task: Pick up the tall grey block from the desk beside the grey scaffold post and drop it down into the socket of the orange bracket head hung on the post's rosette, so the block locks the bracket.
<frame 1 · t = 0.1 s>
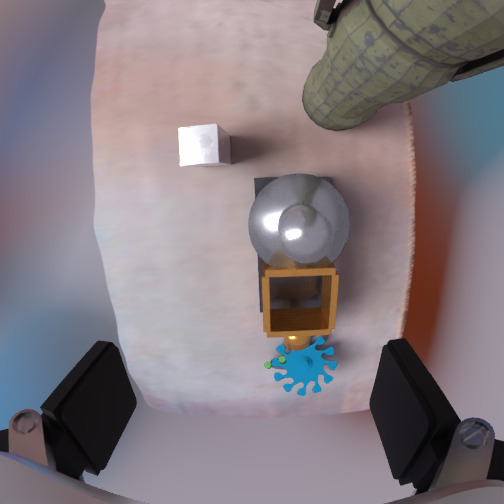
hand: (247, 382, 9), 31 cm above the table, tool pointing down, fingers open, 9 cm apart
blue splat shape: (298, 350, 44), on the table
tall grey block: (215, 151, 36), on the table
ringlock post: (293, 214, 38), on the table
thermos: (332, 101, 34), on the table
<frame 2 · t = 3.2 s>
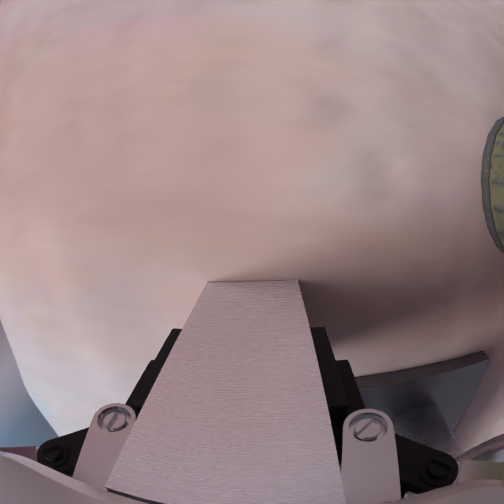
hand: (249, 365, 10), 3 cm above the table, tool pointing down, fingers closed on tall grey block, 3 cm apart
tall grey block: (254, 321, 13), on the table, touching gripper
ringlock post: (405, 419, 15), on the table
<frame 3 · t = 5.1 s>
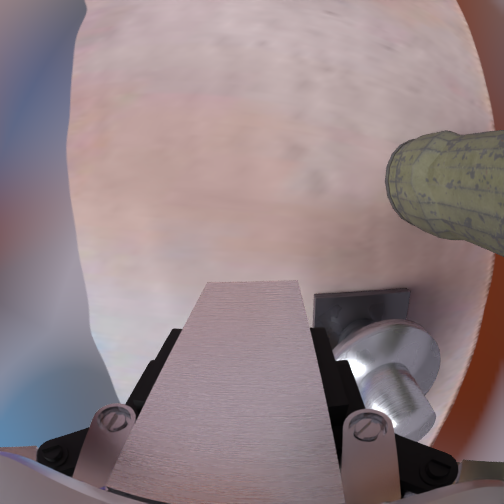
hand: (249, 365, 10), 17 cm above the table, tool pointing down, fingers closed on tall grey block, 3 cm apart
tall grey block: (254, 321, 13), point 13 cm above the table, touching gripper
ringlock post: (358, 334, 28), on the table
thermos: (421, 182, 24), on the table
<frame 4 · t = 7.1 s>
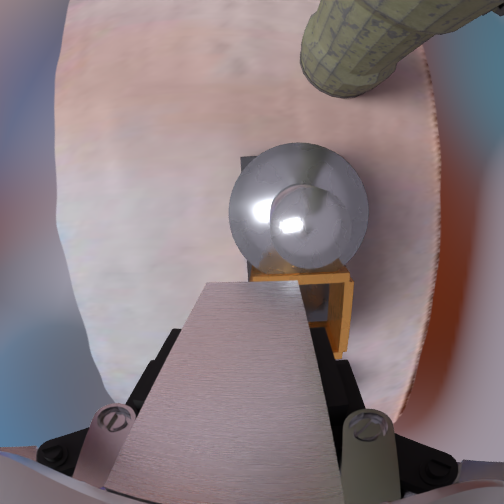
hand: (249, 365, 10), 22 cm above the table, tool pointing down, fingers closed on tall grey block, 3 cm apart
tall grey block: (253, 321, 13), point 18 cm above the table, touching gripper
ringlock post: (291, 202, 30), on the table
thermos: (337, 64, 25), on the table
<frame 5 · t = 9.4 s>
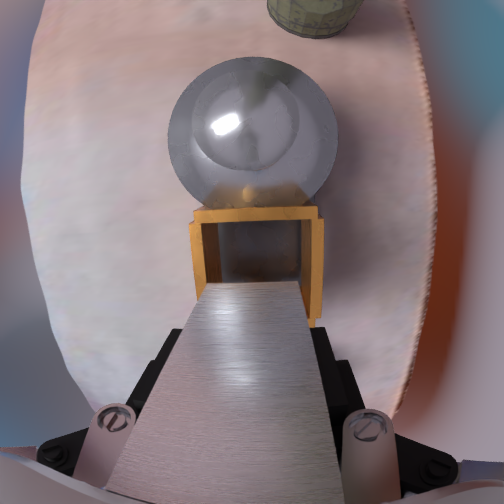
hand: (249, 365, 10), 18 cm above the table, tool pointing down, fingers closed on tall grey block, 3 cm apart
tall grey block: (254, 322, 13), point 15 cm above the table, touching gripper
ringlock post: (256, 145, 25), on the table
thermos: (308, 8, 20), on the table
when the fingers open (11 cm above the table, at t = 11.3 s): tall grey block drops 6 cm, resting on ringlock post.
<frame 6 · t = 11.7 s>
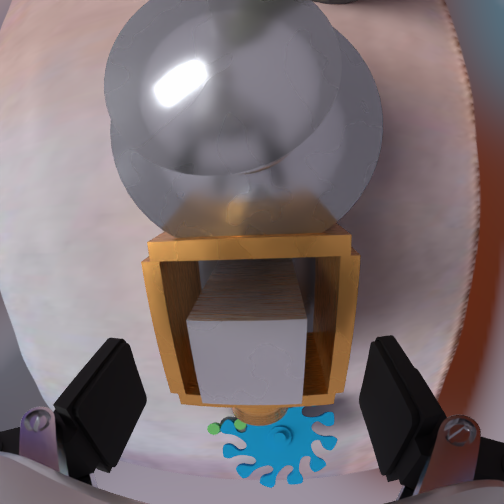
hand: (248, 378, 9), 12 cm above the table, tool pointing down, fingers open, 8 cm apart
blue splat shape: (272, 405, 24), on the table
tall grey block: (258, 273, 19), point 1 cm above the table, touching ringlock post
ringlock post: (252, 138, 18), on the table
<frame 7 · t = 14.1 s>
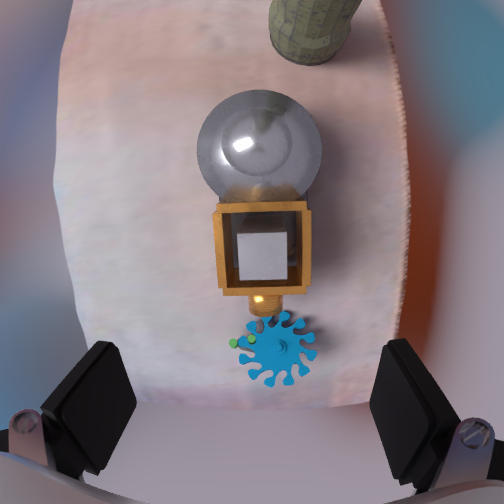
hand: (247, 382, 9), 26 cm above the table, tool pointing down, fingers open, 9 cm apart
blue splat shape: (272, 332, 38), on the table
tall grey block: (264, 232, 33), point 1 cm above the table, touching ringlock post
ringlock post: (261, 154, 32), on the table
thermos: (304, 37, 27), on the table
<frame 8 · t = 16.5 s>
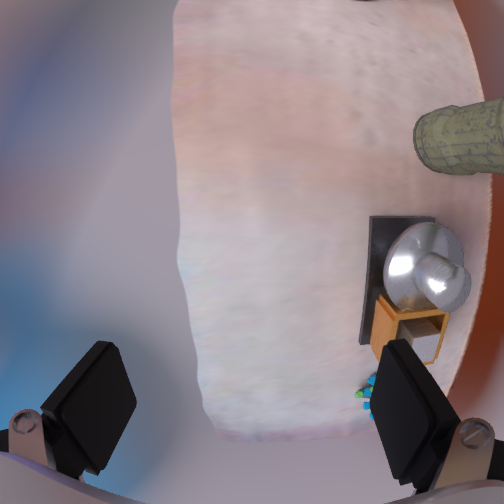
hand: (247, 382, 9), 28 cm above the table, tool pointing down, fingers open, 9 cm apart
blue splat shape: (380, 380, 42), on the table
tall grey block: (395, 312, 37), point 1 cm above the table, touching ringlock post
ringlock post: (400, 251, 36), on the table
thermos: (436, 142, 32), on the table
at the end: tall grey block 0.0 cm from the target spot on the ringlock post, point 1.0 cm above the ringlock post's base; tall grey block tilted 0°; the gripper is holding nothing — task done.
